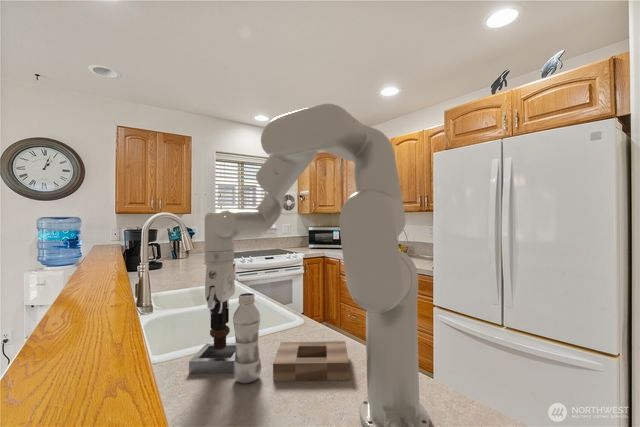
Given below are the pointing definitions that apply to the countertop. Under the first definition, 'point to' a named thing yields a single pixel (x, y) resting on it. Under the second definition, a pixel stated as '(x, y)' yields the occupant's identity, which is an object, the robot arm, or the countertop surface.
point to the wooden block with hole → (311, 361)
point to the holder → (213, 360)
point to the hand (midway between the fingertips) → (219, 324)
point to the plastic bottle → (246, 340)
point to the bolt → (220, 331)
